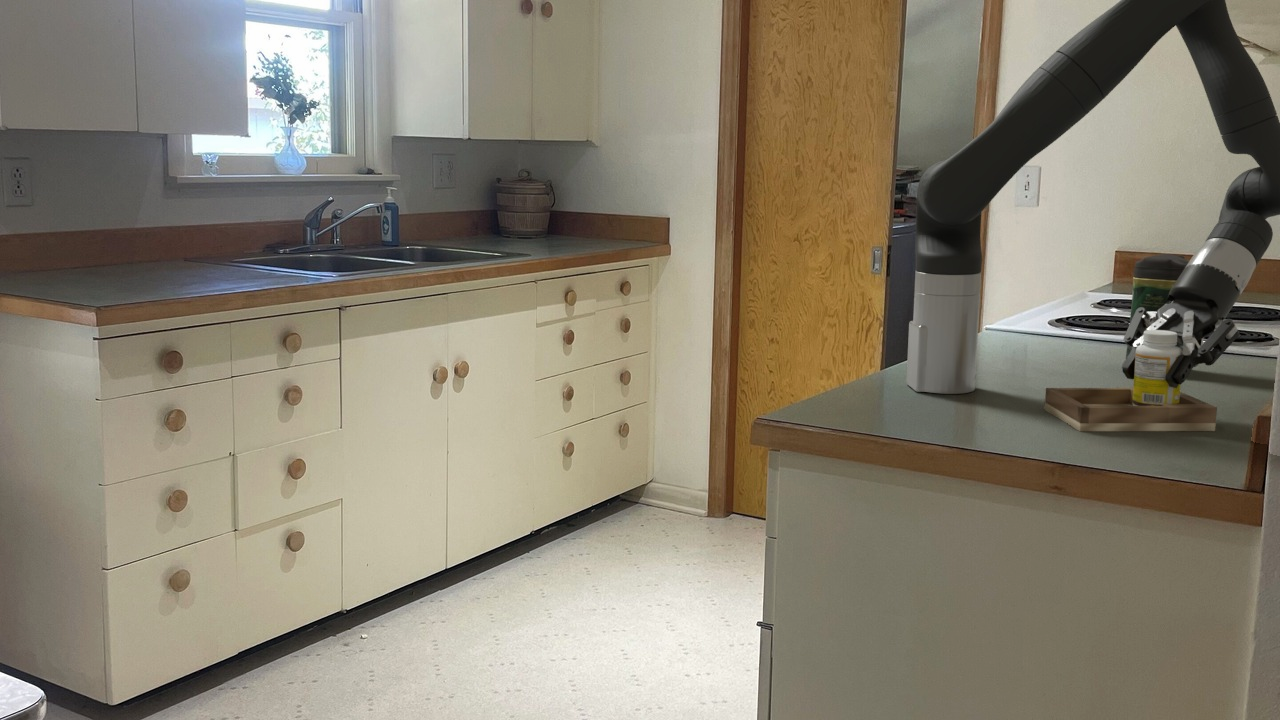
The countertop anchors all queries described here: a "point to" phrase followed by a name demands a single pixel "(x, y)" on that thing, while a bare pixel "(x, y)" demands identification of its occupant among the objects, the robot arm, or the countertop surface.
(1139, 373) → the supplement bottle
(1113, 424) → the shallow wooden tray
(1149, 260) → the coffee jar
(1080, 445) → the countertop surface
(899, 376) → the countertop surface
